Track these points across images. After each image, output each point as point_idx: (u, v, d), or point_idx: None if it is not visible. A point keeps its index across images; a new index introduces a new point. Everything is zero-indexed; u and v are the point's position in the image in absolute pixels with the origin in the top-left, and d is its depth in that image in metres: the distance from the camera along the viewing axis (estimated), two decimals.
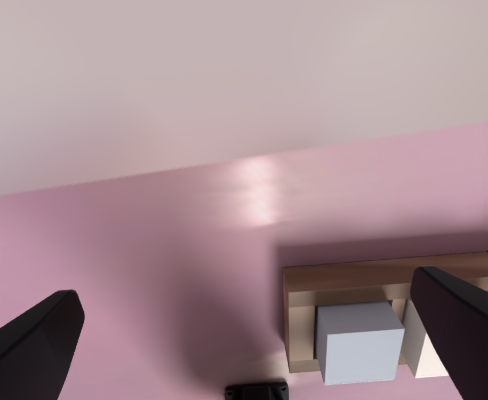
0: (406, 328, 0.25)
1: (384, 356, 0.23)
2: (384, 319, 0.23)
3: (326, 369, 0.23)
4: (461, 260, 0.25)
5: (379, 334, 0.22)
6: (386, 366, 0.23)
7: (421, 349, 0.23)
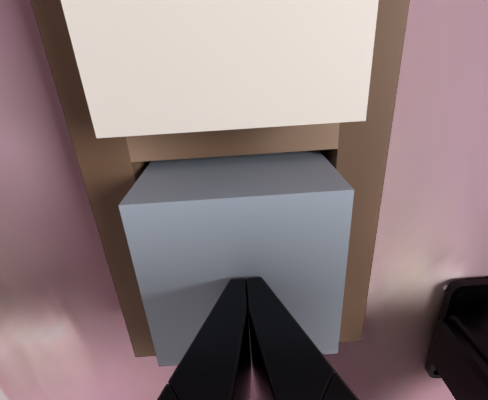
0: None
1: (239, 239, 0.08)
2: None
3: None
4: None
5: (149, 266, 0.08)
6: (287, 223, 0.07)
7: (212, 130, 0.06)
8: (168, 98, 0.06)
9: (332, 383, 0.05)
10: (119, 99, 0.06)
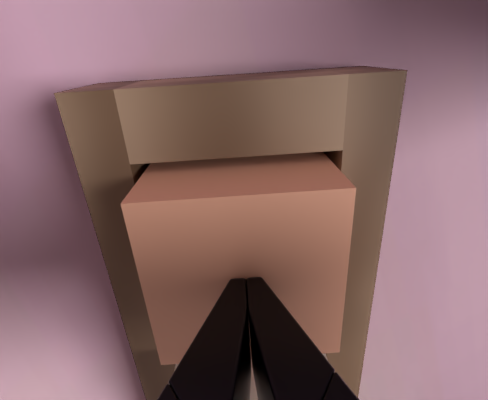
0: None
1: None
2: None
3: None
4: None
5: None
6: None
7: None
8: None
9: (332, 383, 0.05)
10: None
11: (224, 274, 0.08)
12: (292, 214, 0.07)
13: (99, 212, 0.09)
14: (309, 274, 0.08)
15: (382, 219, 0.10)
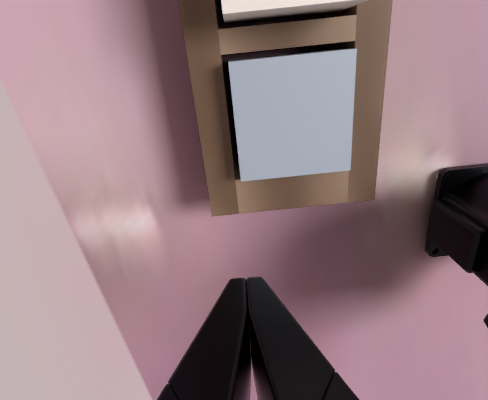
0: (283, 13, 0.13)
1: (293, 84, 0.14)
2: None
3: (314, 172, 0.15)
4: None
5: (241, 103, 0.14)
6: (319, 72, 0.13)
7: (287, 7, 0.11)
8: None
9: (332, 383, 0.05)
10: None
11: None
12: None
13: None
14: None
15: None
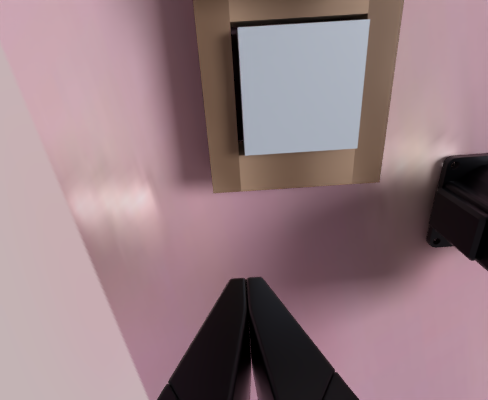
0: None
1: (303, 53, 0.13)
2: None
3: (320, 149, 0.15)
4: None
5: (249, 72, 0.13)
6: (331, 42, 0.13)
7: None
8: None
9: (332, 383, 0.05)
10: None
11: None
12: None
13: None
14: None
15: None
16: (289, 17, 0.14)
